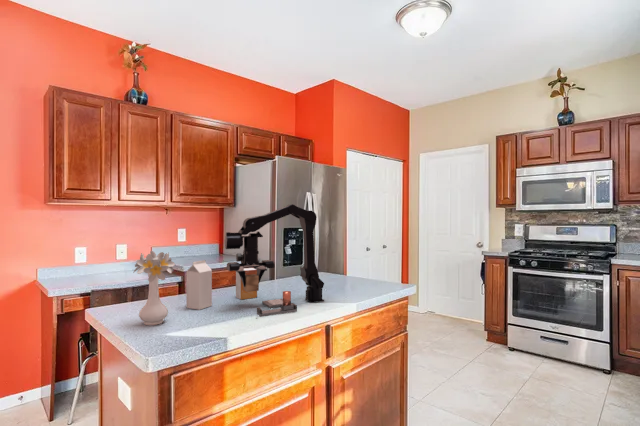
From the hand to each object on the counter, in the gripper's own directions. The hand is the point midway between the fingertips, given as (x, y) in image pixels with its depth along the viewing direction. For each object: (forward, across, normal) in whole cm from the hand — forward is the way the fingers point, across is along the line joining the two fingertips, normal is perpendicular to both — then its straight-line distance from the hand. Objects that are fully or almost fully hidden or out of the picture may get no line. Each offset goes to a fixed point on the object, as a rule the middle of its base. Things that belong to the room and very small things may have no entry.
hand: (250, 286), depth 148 cm
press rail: (+9, -7, +13) cm, 17 cm away
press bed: (+9, -11, +1) cm, 14 cm away
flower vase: (+9, +36, +6) cm, 37 cm away
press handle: (+7, -11, +13) cm, 18 cm away
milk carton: (+9, +19, -10) cm, 23 cm away
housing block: (+2, 0, 0) cm, 2 cm away
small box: (+9, -3, -18) cm, 20 cm away
